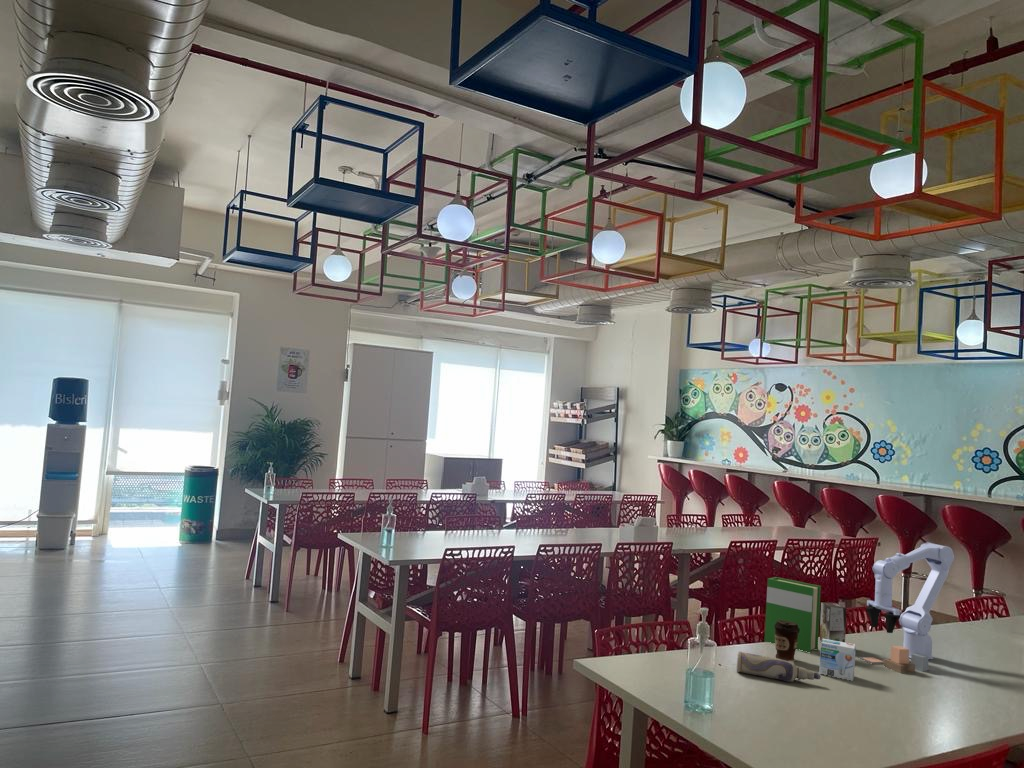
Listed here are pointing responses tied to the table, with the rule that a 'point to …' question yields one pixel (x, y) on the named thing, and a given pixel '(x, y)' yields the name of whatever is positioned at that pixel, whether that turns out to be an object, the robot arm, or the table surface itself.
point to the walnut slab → (899, 666)
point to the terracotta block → (900, 654)
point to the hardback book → (793, 610)
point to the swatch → (872, 660)
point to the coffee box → (832, 622)
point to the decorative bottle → (772, 668)
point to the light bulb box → (837, 659)
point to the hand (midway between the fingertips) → (882, 629)
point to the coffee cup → (786, 639)
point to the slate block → (920, 661)
